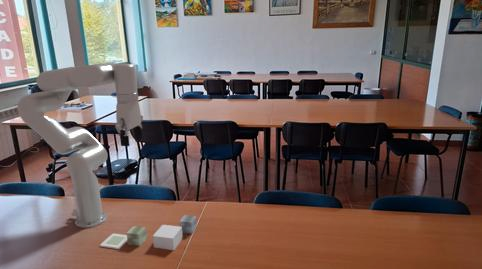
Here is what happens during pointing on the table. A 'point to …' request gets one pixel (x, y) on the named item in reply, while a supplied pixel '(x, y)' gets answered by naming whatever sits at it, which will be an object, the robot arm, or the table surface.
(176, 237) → the grey base block
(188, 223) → the slate block
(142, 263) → the table surface
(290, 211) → the table surface
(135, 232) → the sage block
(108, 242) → the card
